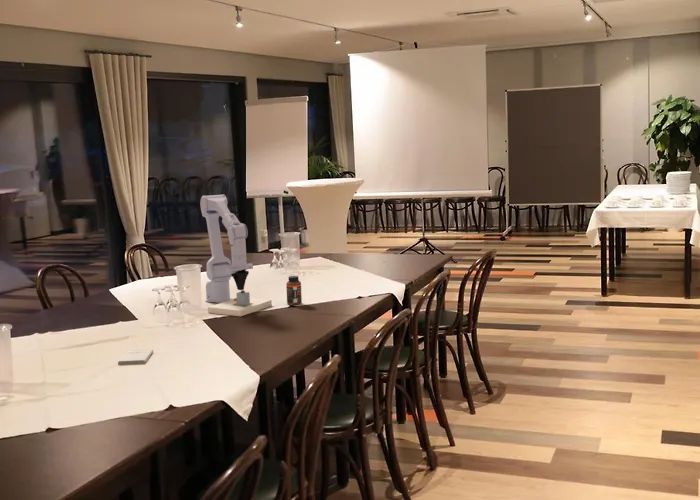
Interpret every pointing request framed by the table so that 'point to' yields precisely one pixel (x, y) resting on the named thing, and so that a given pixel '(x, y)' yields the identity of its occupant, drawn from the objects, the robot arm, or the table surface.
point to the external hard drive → (135, 356)
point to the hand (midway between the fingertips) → (240, 289)
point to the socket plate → (239, 307)
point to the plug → (243, 299)
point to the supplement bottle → (293, 291)
